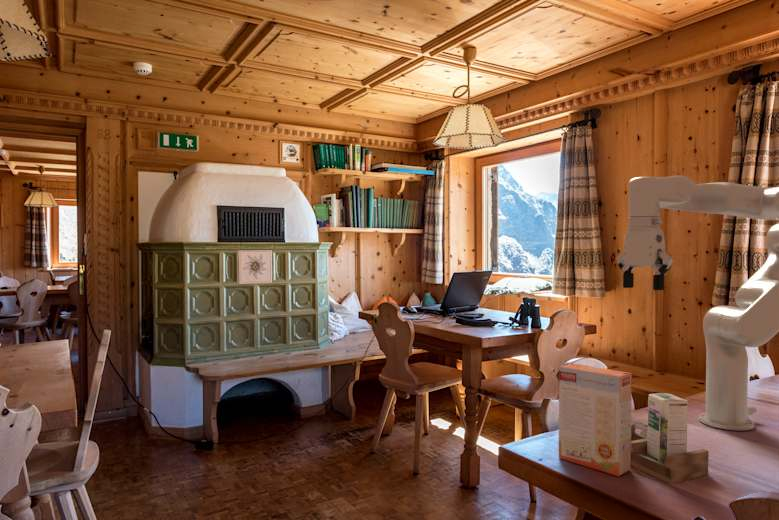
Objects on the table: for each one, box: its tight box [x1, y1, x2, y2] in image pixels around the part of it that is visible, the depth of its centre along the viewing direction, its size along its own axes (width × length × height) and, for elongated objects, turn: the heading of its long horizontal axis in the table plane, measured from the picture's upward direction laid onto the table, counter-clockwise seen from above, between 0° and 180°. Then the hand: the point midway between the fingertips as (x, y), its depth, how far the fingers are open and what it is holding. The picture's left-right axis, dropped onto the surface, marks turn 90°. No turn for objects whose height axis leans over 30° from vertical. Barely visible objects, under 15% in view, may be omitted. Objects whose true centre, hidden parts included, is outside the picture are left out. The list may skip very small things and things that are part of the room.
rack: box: [631, 422, 709, 485], centre depth 120 cm, size 11×20×5 cm, turn 23°
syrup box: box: [647, 392, 689, 464], centre depth 116 cm, size 6×6×14 cm
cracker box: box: [558, 363, 632, 477], centre depth 119 cm, size 14×6×21 cm, turn 42°
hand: (642, 288), depth 145 cm, fingers open, 9 cm apart
